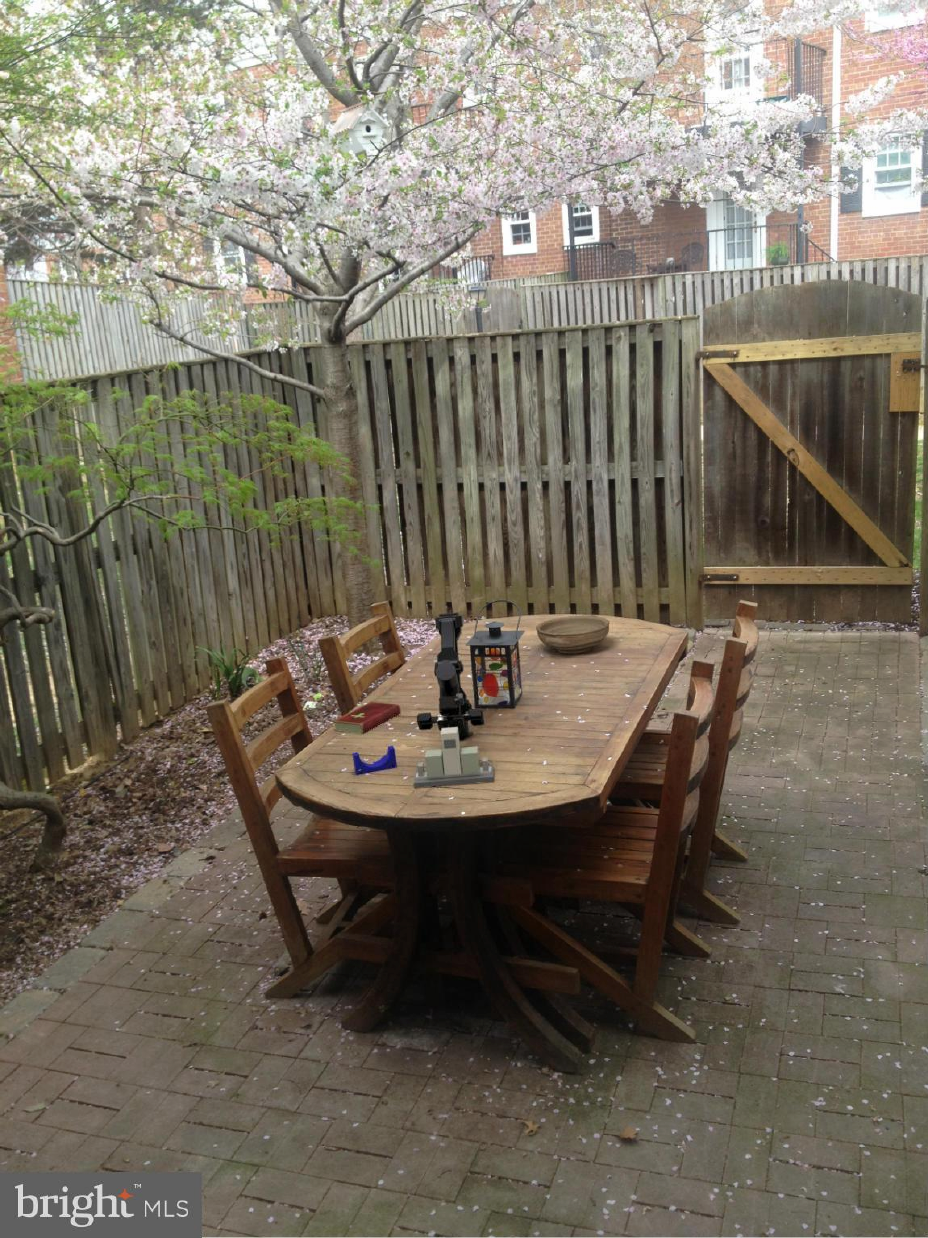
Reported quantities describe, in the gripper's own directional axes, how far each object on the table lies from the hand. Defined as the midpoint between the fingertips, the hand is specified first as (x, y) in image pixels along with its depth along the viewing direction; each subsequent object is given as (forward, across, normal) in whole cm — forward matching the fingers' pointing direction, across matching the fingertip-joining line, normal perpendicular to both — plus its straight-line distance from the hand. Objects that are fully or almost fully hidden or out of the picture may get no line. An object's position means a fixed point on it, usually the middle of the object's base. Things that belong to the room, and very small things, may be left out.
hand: (451, 746), depth 298 cm
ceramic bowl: (-82, +42, +94) cm, 132 cm away
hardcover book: (-32, -31, +45) cm, 63 cm away
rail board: (+8, 0, +5) cm, 9 cm away
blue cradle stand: (-1, -24, +14) cm, 28 cm away
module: (+7, 0, +2) cm, 7 cm away
